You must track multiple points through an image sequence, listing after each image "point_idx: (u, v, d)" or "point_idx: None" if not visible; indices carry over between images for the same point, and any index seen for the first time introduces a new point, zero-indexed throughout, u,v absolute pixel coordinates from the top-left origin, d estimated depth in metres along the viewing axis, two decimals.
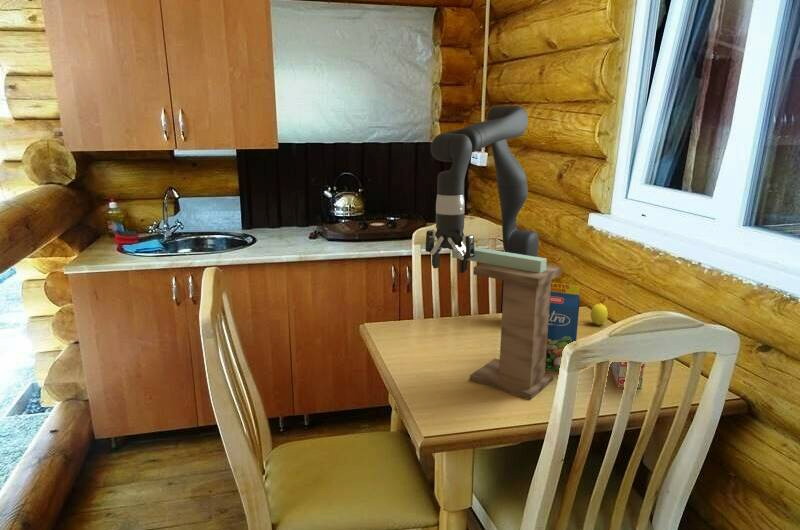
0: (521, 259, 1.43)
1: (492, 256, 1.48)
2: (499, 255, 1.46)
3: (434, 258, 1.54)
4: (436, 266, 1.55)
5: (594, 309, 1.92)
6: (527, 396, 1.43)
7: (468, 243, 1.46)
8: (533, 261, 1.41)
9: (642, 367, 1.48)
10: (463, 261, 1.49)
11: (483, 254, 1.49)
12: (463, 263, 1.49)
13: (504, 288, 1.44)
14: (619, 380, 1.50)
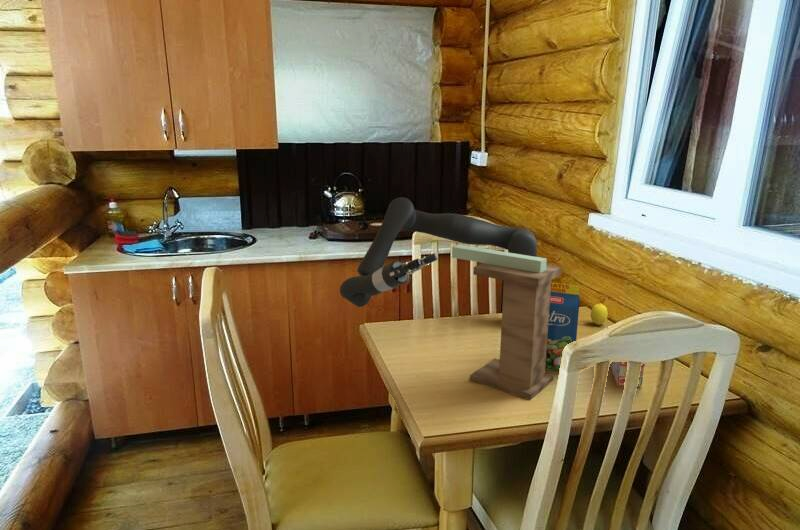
0: (521, 259, 1.43)
1: (492, 256, 1.48)
2: (499, 255, 1.46)
3: (429, 262, 1.70)
4: (434, 258, 1.69)
5: (594, 309, 1.92)
6: (527, 396, 1.43)
7: (395, 276, 1.66)
8: (533, 261, 1.41)
9: (642, 366, 1.48)
10: (410, 268, 1.64)
11: (483, 254, 1.49)
12: (412, 267, 1.63)
13: (504, 288, 1.44)
14: (619, 380, 1.50)
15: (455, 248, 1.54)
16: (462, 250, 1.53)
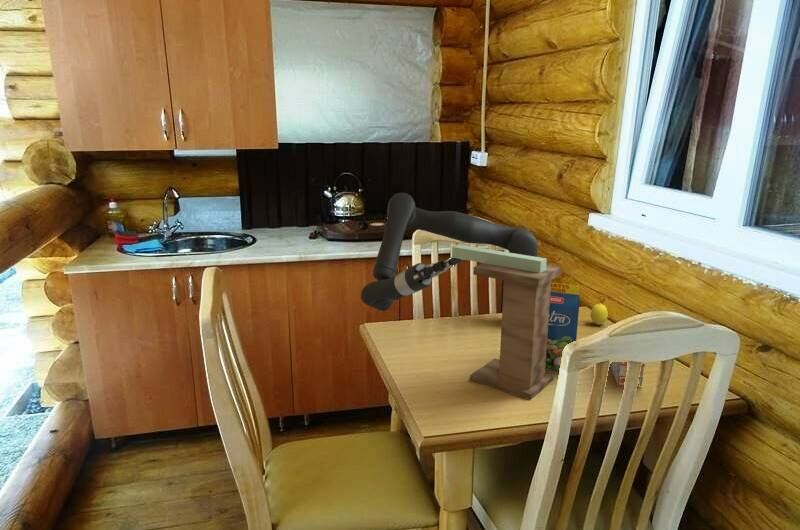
0: (521, 259, 1.43)
1: (492, 256, 1.48)
2: (499, 255, 1.46)
3: (455, 264, 1.63)
4: (459, 259, 1.61)
5: (594, 309, 1.92)
6: (527, 396, 1.43)
7: (419, 279, 1.58)
8: (533, 261, 1.41)
9: (642, 366, 1.48)
10: (435, 270, 1.56)
11: (483, 254, 1.49)
12: (437, 269, 1.56)
13: (504, 288, 1.44)
14: (619, 379, 1.50)
15: (455, 248, 1.54)
16: (462, 250, 1.53)
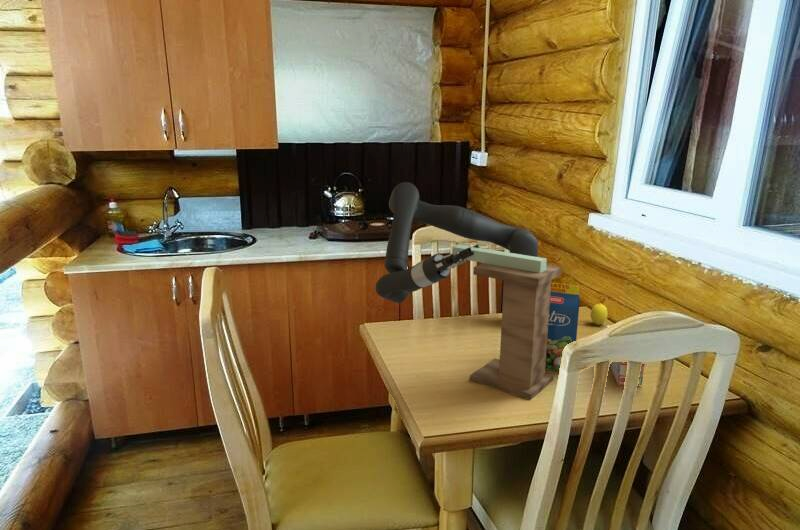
0: (521, 259, 1.43)
1: (492, 256, 1.48)
2: (499, 255, 1.46)
3: None
4: None
5: (594, 309, 1.92)
6: (527, 396, 1.43)
7: (443, 267, 1.53)
8: (533, 261, 1.41)
9: (642, 365, 1.49)
10: (462, 257, 1.52)
11: (483, 254, 1.49)
12: (464, 257, 1.52)
13: (504, 288, 1.44)
14: (620, 378, 1.51)
15: (455, 248, 1.54)
16: (462, 250, 1.53)
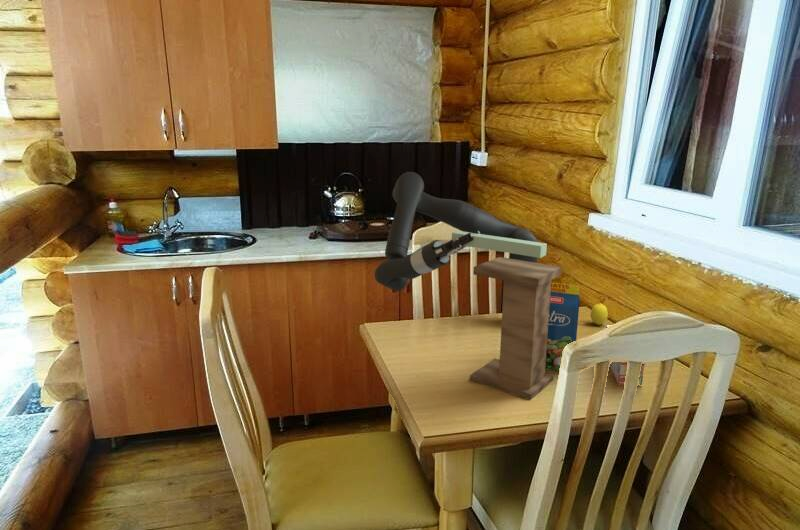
0: (521, 244, 1.42)
1: (492, 241, 1.47)
2: (499, 240, 1.45)
3: None
4: None
5: (594, 309, 1.92)
6: (527, 396, 1.43)
7: (443, 253, 1.52)
8: (533, 246, 1.40)
9: (642, 365, 1.49)
10: (462, 243, 1.51)
11: (483, 240, 1.48)
12: (463, 242, 1.51)
13: (504, 288, 1.44)
14: (620, 378, 1.51)
15: (455, 234, 1.53)
16: None
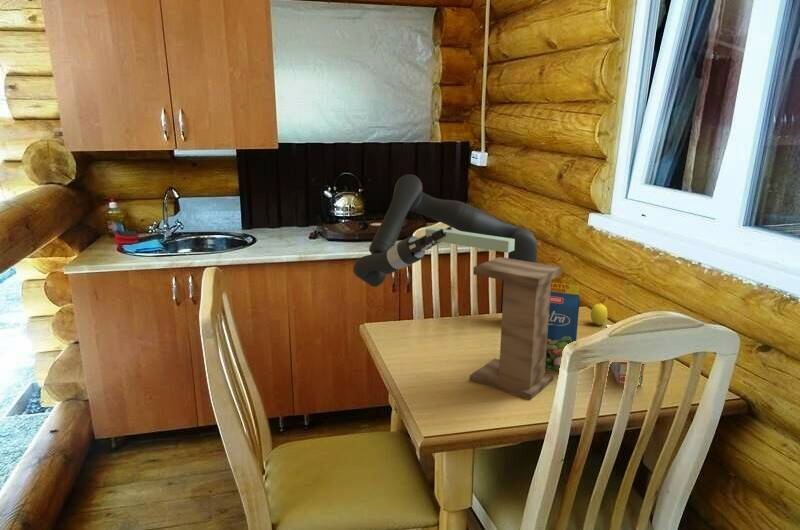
0: (490, 240, 1.47)
1: (463, 237, 1.52)
2: (469, 236, 1.51)
3: None
4: None
5: (594, 309, 1.92)
6: (527, 396, 1.43)
7: (416, 249, 1.57)
8: (501, 241, 1.45)
9: (642, 364, 1.49)
10: (435, 239, 1.57)
11: (455, 235, 1.53)
12: (436, 238, 1.56)
13: (504, 288, 1.44)
14: (620, 378, 1.51)
15: (428, 230, 1.59)
16: None
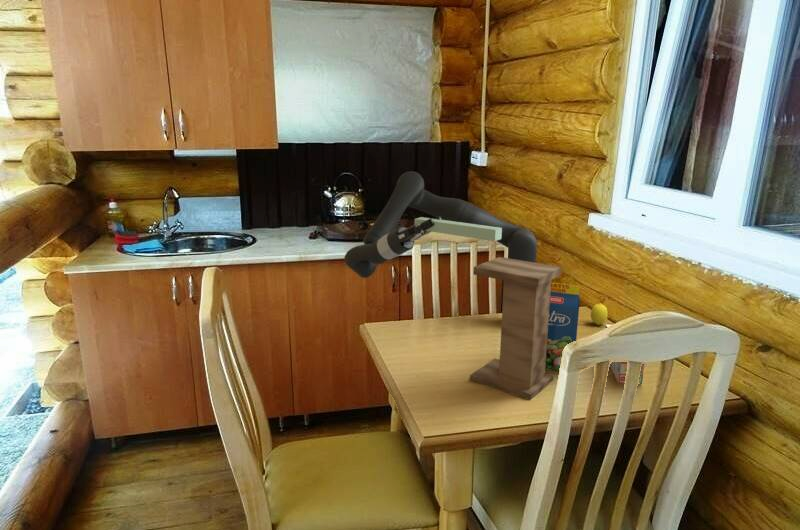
0: (477, 228, 1.49)
1: (451, 226, 1.54)
2: (457, 225, 1.52)
3: None
4: None
5: (594, 309, 1.92)
6: (527, 396, 1.43)
7: (406, 238, 1.59)
8: (488, 230, 1.47)
9: (643, 364, 1.50)
10: (423, 228, 1.58)
11: (443, 225, 1.55)
12: (425, 228, 1.58)
13: (504, 288, 1.44)
14: (620, 377, 1.52)
15: (417, 220, 1.60)
16: None
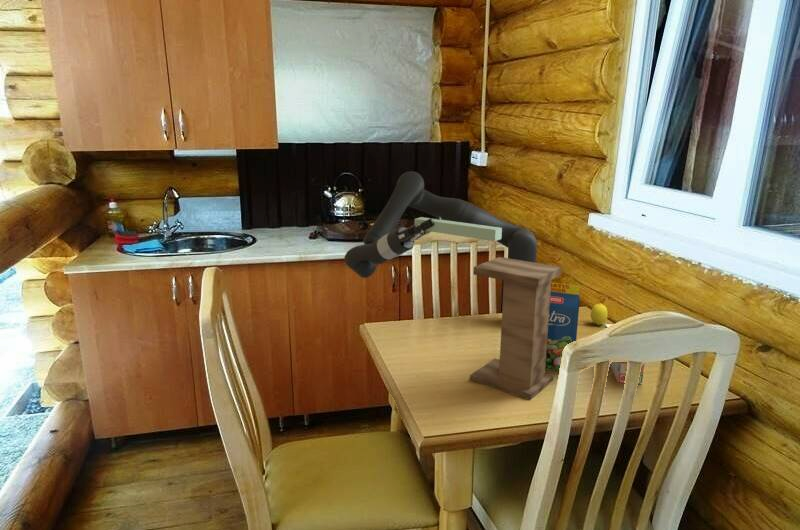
0: (477, 228, 1.49)
1: (451, 226, 1.54)
2: (457, 225, 1.52)
3: None
4: None
5: (594, 309, 1.92)
6: (527, 396, 1.43)
7: (406, 238, 1.59)
8: (488, 230, 1.47)
9: None
10: (423, 228, 1.58)
11: (443, 225, 1.55)
12: (425, 228, 1.58)
13: (504, 288, 1.44)
14: (620, 377, 1.52)
15: (417, 220, 1.60)
16: None
